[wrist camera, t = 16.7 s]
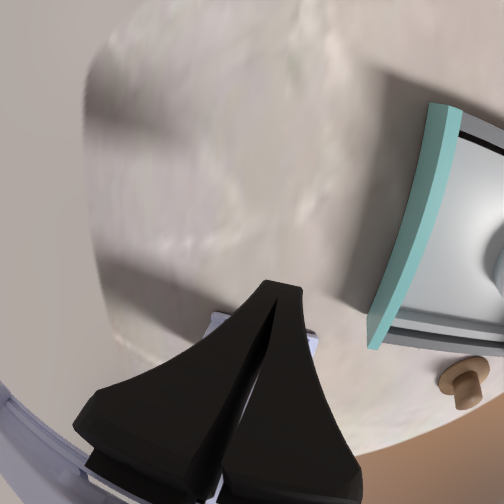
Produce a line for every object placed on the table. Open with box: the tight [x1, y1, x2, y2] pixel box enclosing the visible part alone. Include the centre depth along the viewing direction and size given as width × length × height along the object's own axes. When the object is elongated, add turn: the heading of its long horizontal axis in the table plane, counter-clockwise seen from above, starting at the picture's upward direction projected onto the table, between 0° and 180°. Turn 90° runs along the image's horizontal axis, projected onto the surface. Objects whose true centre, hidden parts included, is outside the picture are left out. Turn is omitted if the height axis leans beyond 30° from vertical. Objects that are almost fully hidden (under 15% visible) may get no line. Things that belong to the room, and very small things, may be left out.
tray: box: [367, 102, 504, 350], centre depth 14 cm, size 15×16×3 cm
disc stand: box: [439, 357, 490, 410], centre depth 20 cm, size 6×6×4 cm
